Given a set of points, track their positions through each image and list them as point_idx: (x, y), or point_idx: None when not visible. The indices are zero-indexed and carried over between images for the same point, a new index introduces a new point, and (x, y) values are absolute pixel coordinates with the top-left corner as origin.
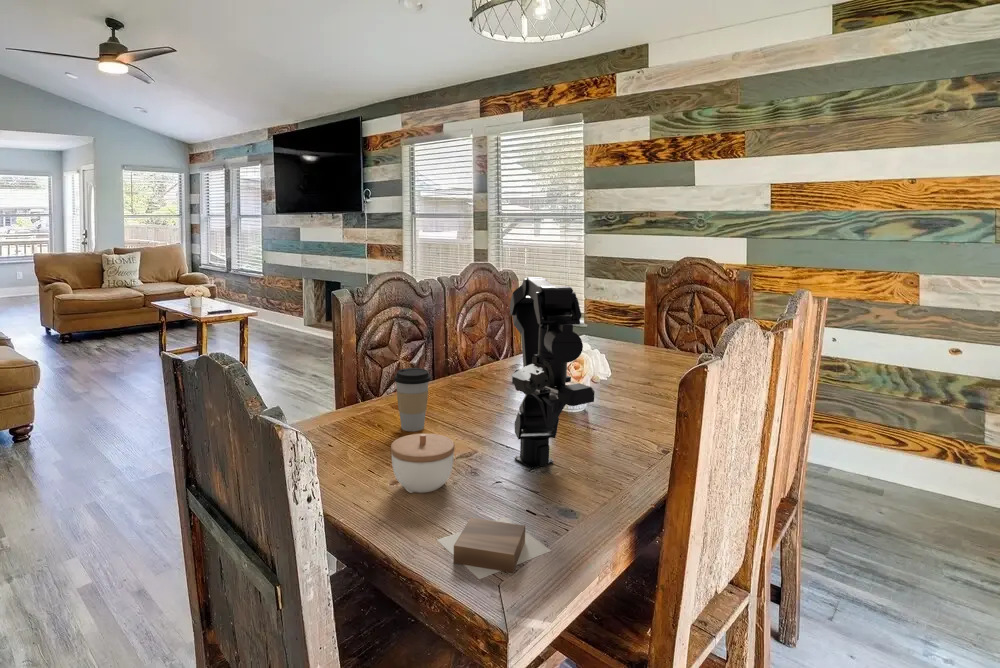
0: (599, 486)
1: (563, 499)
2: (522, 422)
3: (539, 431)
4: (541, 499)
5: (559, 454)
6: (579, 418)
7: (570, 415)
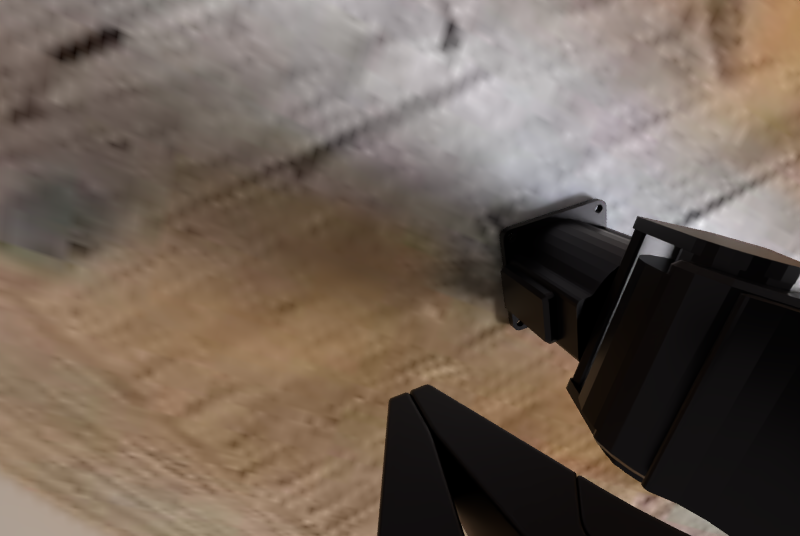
0: (283, 416)
1: (202, 253)
2: (709, 259)
3: (606, 333)
4: (223, 159)
5: (559, 365)
6: None
7: None
